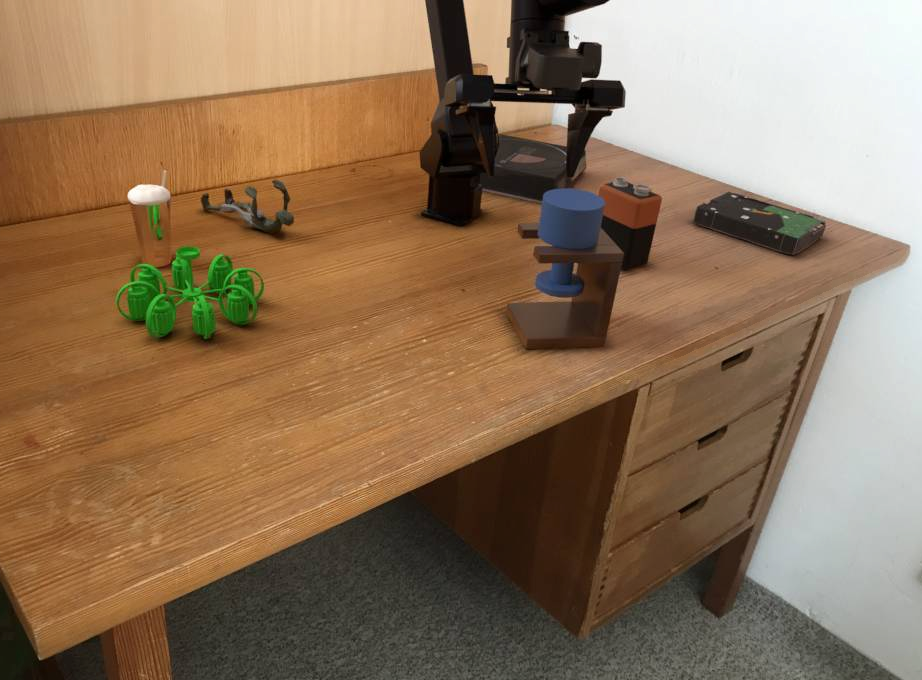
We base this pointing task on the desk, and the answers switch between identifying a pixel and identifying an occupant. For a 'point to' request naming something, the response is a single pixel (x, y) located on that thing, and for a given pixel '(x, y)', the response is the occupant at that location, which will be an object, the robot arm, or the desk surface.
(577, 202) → the peg
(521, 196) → the portable cd player
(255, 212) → the zombie figurine
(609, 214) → the battery
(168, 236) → the milkshake
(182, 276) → the chandelier
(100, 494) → the desk surface
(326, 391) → the desk surface
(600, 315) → the brown slotted stand
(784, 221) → the disk drive
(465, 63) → the robot arm
